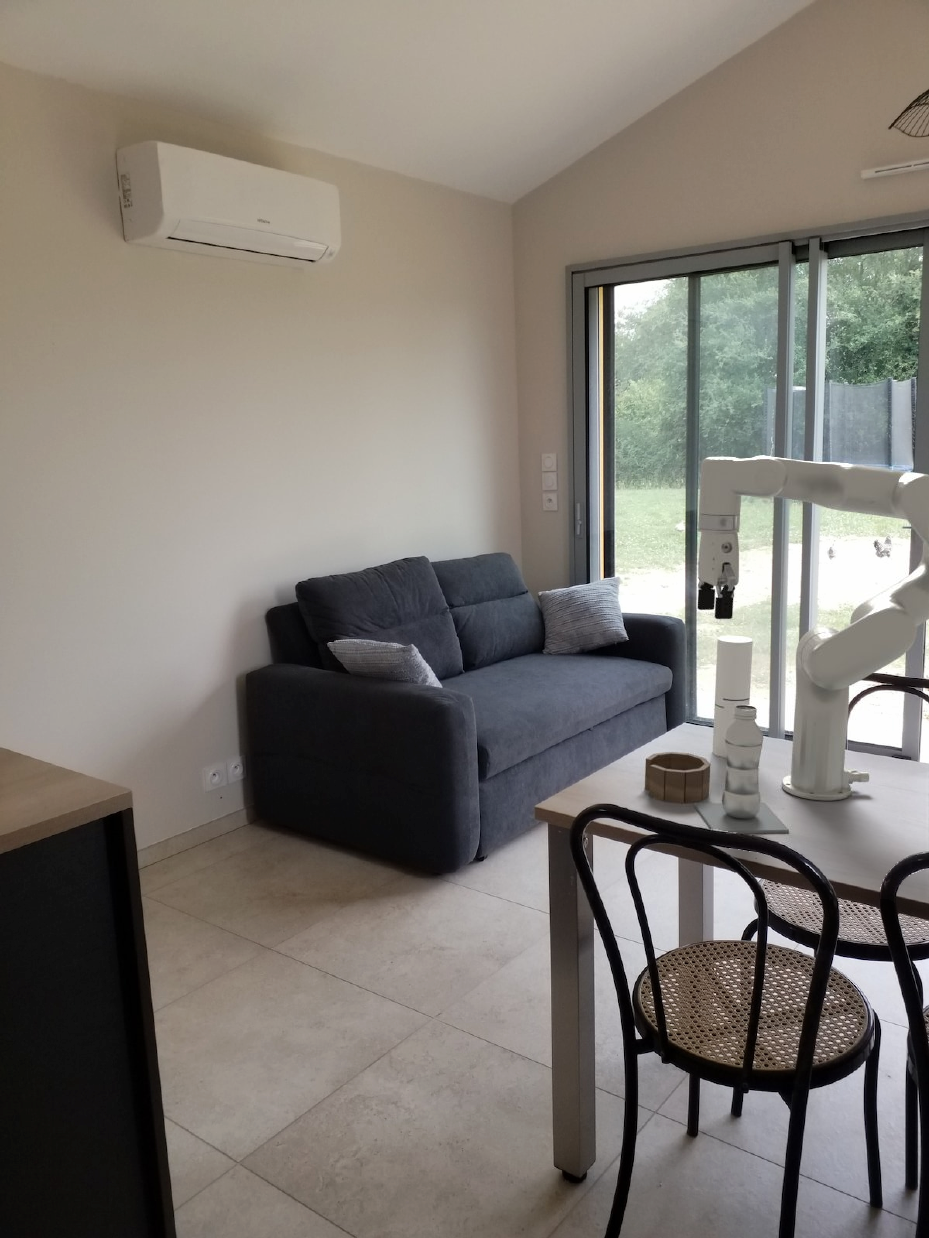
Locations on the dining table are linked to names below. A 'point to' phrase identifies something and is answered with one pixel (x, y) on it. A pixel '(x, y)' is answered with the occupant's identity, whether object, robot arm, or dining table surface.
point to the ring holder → (677, 777)
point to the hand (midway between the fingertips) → (714, 614)
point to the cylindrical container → (730, 684)
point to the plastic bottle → (742, 764)
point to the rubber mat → (741, 820)
